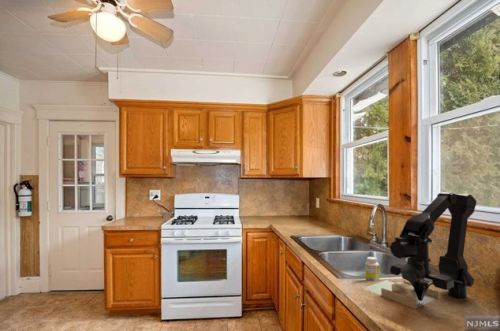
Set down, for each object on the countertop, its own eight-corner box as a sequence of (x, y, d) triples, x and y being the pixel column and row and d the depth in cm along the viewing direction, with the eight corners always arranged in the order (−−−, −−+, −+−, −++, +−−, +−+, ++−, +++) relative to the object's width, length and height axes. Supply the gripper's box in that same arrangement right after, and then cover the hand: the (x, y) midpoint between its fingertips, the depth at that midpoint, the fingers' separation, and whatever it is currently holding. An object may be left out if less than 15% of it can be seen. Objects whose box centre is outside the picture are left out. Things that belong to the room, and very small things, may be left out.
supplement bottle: (374, 279, 120) (374, 255, 121) (382, 283, 115) (381, 259, 115) (363, 279, 120) (362, 256, 120) (369, 284, 114) (369, 260, 115)
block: (391, 295, 100) (391, 284, 100) (399, 292, 103) (399, 281, 103) (411, 302, 94) (411, 291, 94) (418, 299, 97) (418, 287, 97)
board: (438, 301, 98) (438, 290, 98) (415, 313, 90) (414, 301, 90) (386, 283, 115) (386, 274, 115) (362, 291, 107) (362, 281, 107)
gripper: (380, 252, 98) (381, 296, 98) (437, 266, 83) (439, 318, 82) (397, 248, 104) (398, 289, 103) (453, 260, 88) (455, 309, 88)
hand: (420, 300), depth 94 cm, fingers closed
